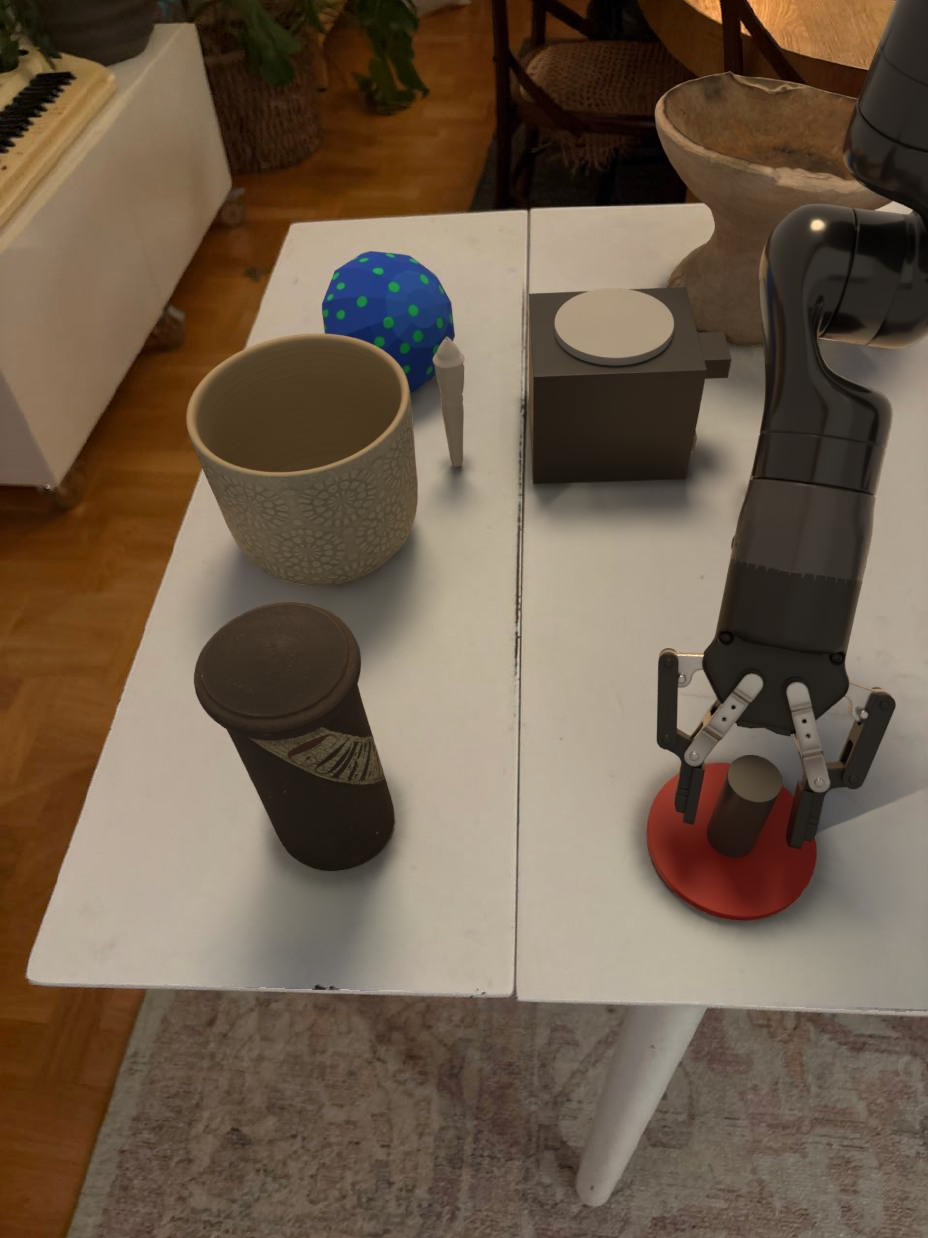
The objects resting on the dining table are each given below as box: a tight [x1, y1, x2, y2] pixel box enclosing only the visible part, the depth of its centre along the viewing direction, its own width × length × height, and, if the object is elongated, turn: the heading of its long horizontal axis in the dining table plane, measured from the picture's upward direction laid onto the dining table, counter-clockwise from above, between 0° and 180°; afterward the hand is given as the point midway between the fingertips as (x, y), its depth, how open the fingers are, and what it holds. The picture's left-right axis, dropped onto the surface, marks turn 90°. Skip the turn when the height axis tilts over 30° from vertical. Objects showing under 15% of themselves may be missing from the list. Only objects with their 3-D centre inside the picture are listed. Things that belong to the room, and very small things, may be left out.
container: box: [193, 601, 396, 872], centre depth 56 cm, size 9×9×20 cm
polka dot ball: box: [321, 250, 456, 396], centre depth 91 cm, size 14×14×15 cm
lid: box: [646, 754, 818, 922], centre depth 58 cm, size 11×11×9 cm
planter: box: [185, 333, 419, 587], centre depth 74 cm, size 17×17×15 cm
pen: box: [433, 337, 465, 468], centre depth 80 cm, size 2×3×14 cm
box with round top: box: [528, 287, 732, 485], centre depth 82 cm, size 17×12×13 cm
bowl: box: [654, 71, 894, 346], centre depth 91 cm, size 26×25×20 cm
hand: (740, 831), depth 56 cm, fingers open, 5 cm apart
